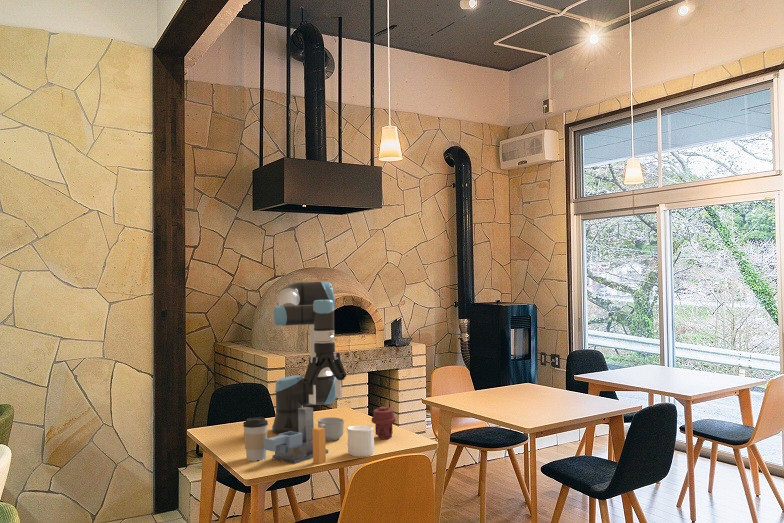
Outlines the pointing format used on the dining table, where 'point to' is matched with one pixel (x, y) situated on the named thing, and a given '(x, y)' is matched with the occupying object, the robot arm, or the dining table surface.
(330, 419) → the teacup
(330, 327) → the robot arm
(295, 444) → the bracket
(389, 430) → the mechanical component
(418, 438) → the dining table surface
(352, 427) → the cup
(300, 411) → the grey fixture stand
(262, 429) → the coffee cup
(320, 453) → the orange rectangular block
